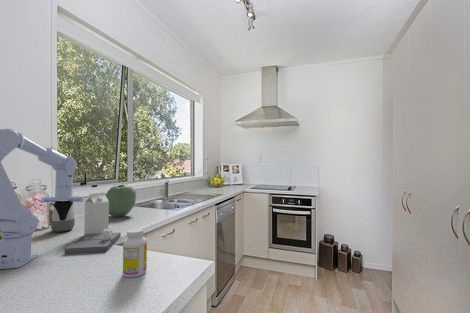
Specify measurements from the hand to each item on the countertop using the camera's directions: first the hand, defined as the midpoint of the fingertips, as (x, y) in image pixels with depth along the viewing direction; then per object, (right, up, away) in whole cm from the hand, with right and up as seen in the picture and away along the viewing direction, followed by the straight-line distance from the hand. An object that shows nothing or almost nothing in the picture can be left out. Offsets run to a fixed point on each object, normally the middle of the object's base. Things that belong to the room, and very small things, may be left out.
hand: (63, 220), depth 95 cm
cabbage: (-2, -12, +50) cm, 52 cm away
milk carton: (+5, -11, +14) cm, 18 cm away
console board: (+13, -10, 0) cm, 16 cm away
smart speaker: (-14, -11, +19) cm, 26 cm away
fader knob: (+17, -8, +1) cm, 19 cm away
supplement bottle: (+39, -10, -24) cm, 47 cm away
